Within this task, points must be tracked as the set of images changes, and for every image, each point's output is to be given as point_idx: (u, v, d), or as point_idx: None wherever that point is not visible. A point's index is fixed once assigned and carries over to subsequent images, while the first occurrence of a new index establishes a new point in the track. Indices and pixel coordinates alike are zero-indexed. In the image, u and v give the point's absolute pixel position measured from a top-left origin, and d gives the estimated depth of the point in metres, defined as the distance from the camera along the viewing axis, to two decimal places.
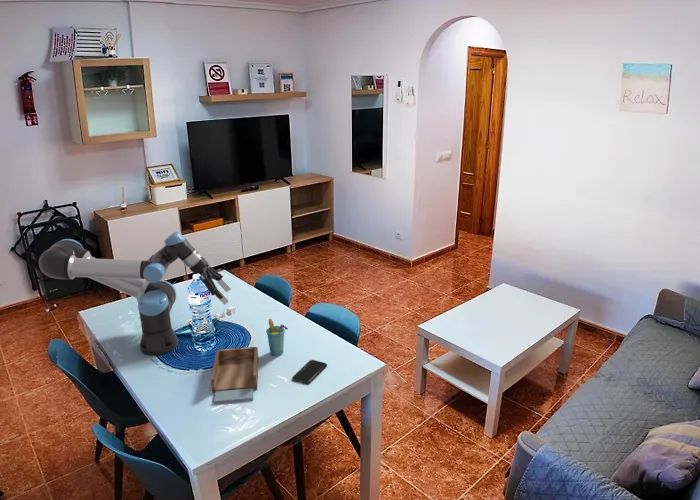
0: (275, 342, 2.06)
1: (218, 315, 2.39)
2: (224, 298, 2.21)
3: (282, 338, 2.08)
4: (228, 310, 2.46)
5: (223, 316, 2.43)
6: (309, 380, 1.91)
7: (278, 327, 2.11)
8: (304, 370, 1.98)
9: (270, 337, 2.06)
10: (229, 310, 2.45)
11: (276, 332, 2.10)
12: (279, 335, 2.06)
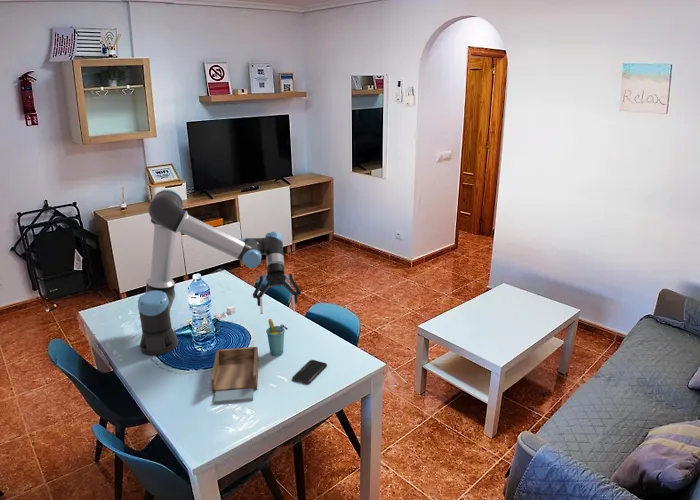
0: (275, 342, 2.06)
1: (219, 315, 2.39)
2: None
3: (282, 338, 2.08)
4: (228, 310, 2.46)
5: (223, 316, 2.43)
6: (309, 380, 1.91)
7: (278, 327, 2.11)
8: (304, 370, 1.98)
9: (270, 337, 2.06)
10: (229, 309, 2.46)
11: (276, 332, 2.10)
12: (279, 335, 2.06)
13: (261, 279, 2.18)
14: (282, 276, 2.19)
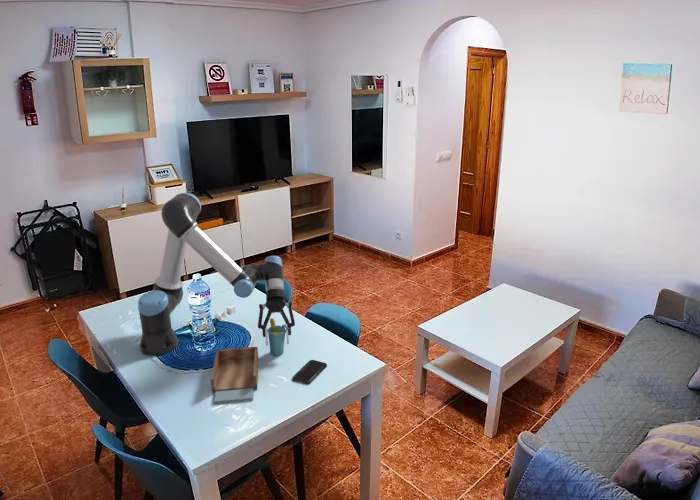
0: (276, 342, 2.06)
1: (219, 315, 2.40)
2: None
3: (283, 338, 2.08)
4: (228, 309, 2.46)
5: (224, 315, 2.43)
6: (309, 380, 1.91)
7: (279, 327, 2.11)
8: (304, 370, 1.98)
9: (271, 336, 2.06)
10: (229, 309, 2.46)
11: (277, 332, 2.10)
12: (280, 335, 2.06)
13: (261, 307, 2.10)
14: (282, 302, 2.12)
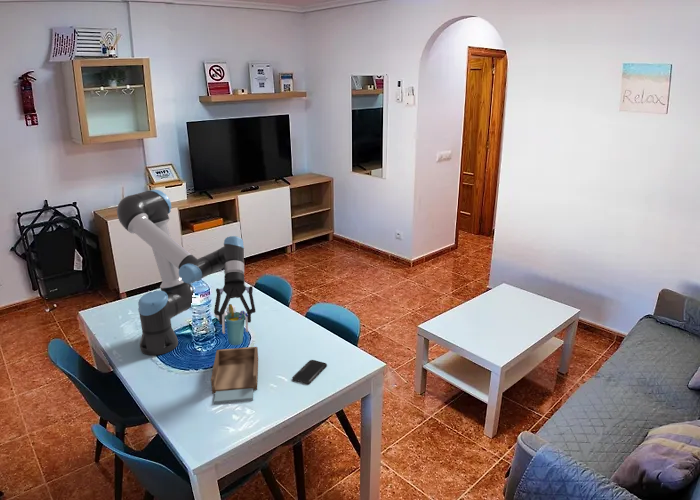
0: (234, 330, 1.87)
1: None
2: None
3: (242, 326, 1.89)
4: (228, 309, 2.47)
5: None
6: (309, 380, 1.91)
7: (238, 313, 1.92)
8: (304, 370, 1.98)
9: (229, 324, 1.87)
10: None
11: (236, 319, 1.91)
12: (239, 322, 1.87)
13: (218, 292, 1.91)
14: (241, 286, 1.93)
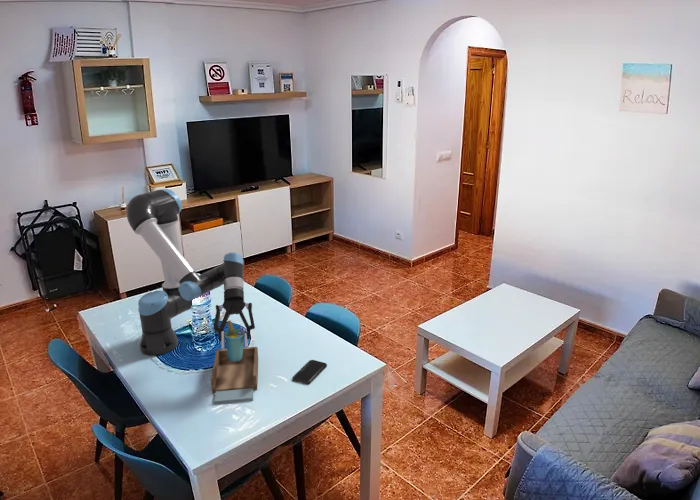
0: (233, 346, 1.88)
1: (220, 314, 2.40)
2: None
3: (241, 342, 1.90)
4: None
5: None
6: (309, 380, 1.91)
7: (238, 330, 1.93)
8: (304, 370, 1.98)
9: (228, 341, 1.88)
10: None
11: (235, 335, 1.92)
12: (238, 339, 1.88)
13: (218, 309, 1.92)
14: (241, 303, 1.94)
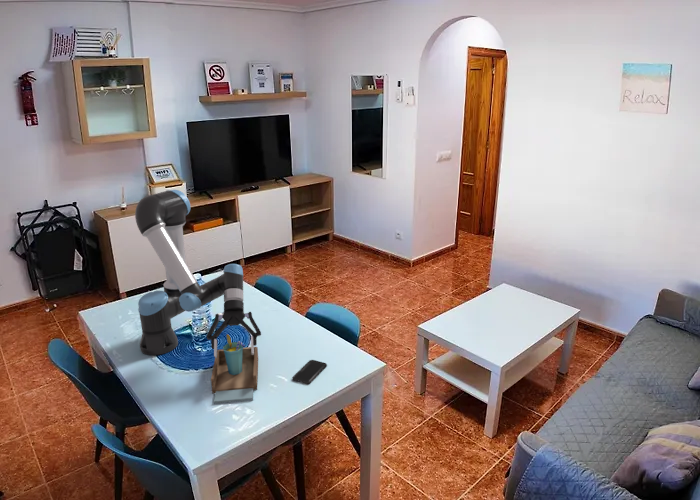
0: (232, 360, 1.91)
1: (221, 314, 2.40)
2: (253, 348, 1.93)
3: (240, 355, 1.92)
4: None
5: None
6: (309, 380, 1.91)
7: (237, 343, 1.95)
8: (304, 370, 1.98)
9: (227, 355, 1.90)
10: None
11: (234, 349, 1.94)
12: (236, 352, 1.90)
13: (216, 318, 1.94)
14: (240, 314, 1.96)
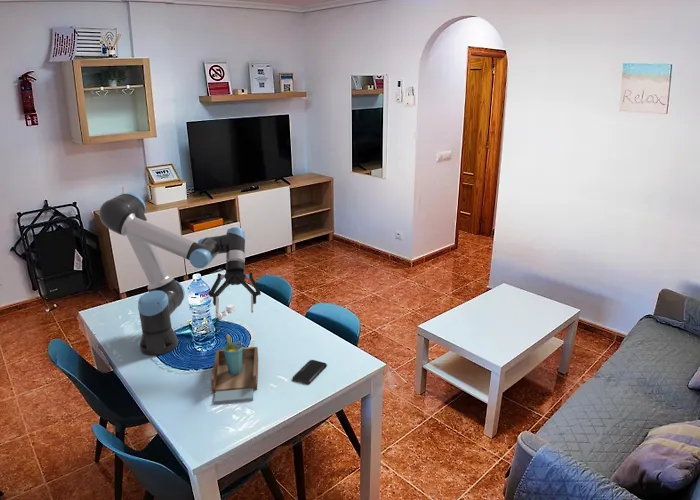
0: (232, 360, 1.91)
1: (221, 314, 2.40)
2: None
3: (240, 355, 1.92)
4: (228, 308, 2.47)
5: (224, 315, 2.44)
6: (309, 380, 1.91)
7: (236, 343, 1.95)
8: (304, 370, 1.98)
9: (227, 355, 1.90)
10: (229, 308, 2.47)
11: (234, 349, 1.94)
12: (236, 352, 1.90)
13: (219, 277, 2.05)
14: (241, 274, 2.06)
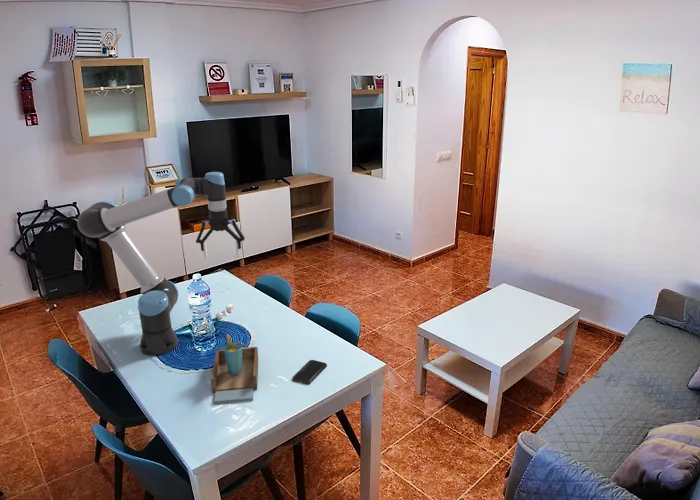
0: (232, 360, 1.91)
1: (221, 313, 2.41)
2: (238, 250, 2.22)
3: (240, 355, 1.92)
4: (228, 308, 2.48)
5: (224, 314, 2.44)
6: (309, 380, 1.91)
7: (237, 343, 1.95)
8: (304, 370, 1.98)
9: (227, 355, 1.90)
10: (229, 308, 2.47)
11: (234, 349, 1.94)
12: (236, 352, 1.90)
13: (203, 225, 2.14)
14: (225, 222, 2.15)
